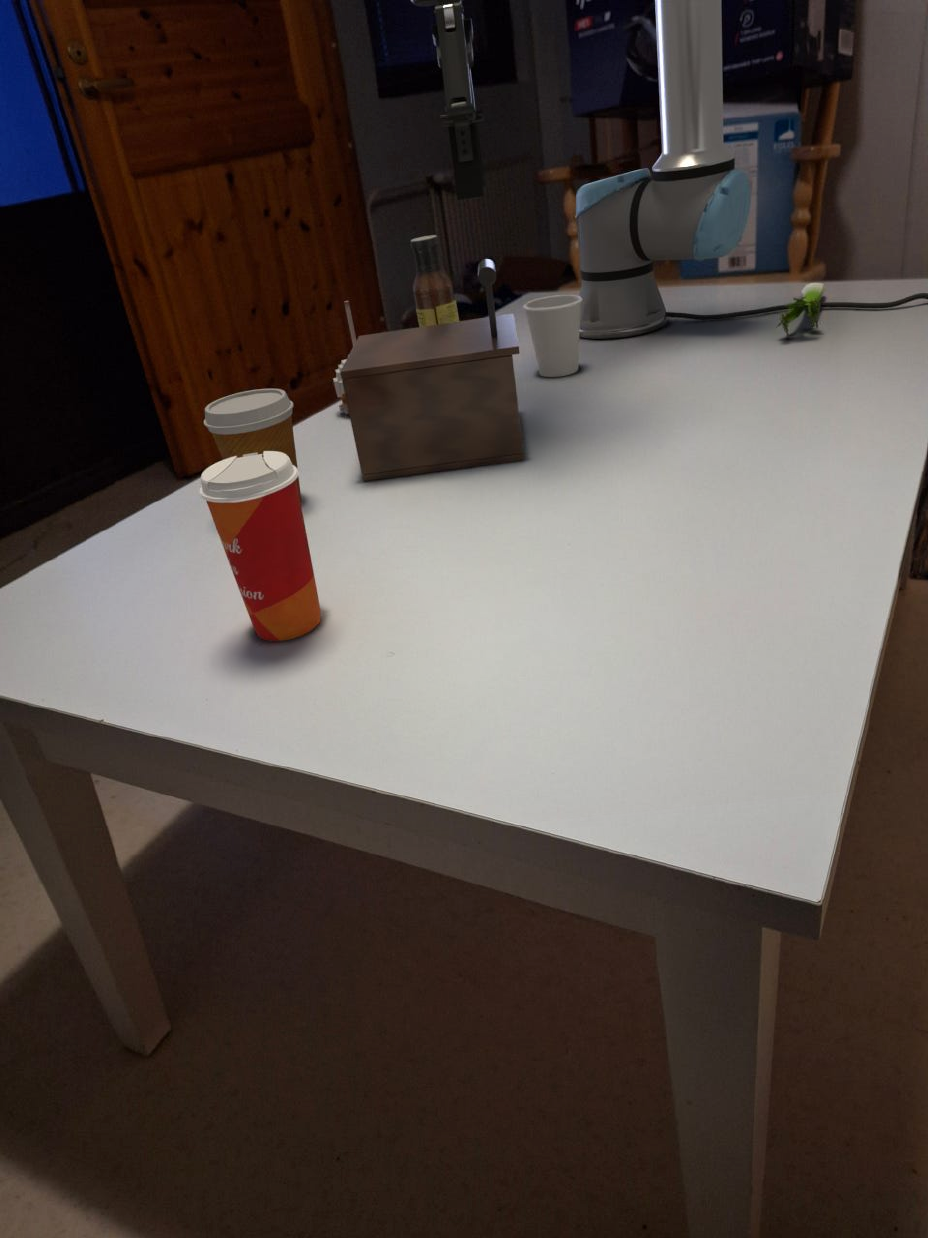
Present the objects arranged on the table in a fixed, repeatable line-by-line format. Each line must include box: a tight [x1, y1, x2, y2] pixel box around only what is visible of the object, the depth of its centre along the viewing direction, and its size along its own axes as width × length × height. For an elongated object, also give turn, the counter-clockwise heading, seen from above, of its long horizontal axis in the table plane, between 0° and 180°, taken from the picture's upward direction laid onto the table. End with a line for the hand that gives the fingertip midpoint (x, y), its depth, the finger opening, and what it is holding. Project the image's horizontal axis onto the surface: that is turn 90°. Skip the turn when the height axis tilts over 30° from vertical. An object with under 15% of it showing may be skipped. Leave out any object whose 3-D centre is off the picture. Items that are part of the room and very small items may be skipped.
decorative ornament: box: [332, 300, 357, 415], centre depth 125 cm, size 8×8×15 cm
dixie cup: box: [522, 294, 582, 378], centre depth 129 cm, size 8×8×10 cm
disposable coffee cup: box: [203, 388, 302, 503], centre depth 97 cm, size 10×10×12 cm
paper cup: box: [198, 451, 322, 642], centre depth 72 cm, size 8×8×14 cm
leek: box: [775, 282, 826, 339], centre depth 137 cm, size 6×7×30 cm
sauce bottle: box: [410, 234, 460, 327], centre depth 136 cm, size 7×6×20 cm
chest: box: [342, 355, 525, 482], centre depth 107 cm, size 19×18×12 cm
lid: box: [340, 258, 521, 379], centre depth 102 cm, size 19×18×8 cm
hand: (472, 193), depth 96 cm, fingers open, 13 cm apart
